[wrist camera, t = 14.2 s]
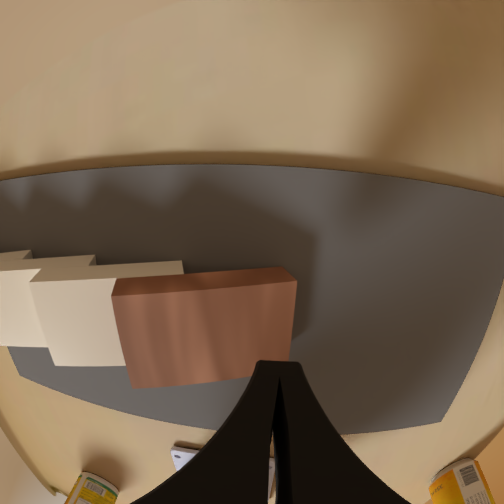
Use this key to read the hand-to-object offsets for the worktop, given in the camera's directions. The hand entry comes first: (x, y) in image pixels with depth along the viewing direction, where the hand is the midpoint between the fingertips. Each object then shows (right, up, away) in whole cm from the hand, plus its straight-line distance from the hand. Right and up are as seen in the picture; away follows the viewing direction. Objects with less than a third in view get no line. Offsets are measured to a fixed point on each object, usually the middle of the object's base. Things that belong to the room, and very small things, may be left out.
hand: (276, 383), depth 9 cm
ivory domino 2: (-4, +2, +4) cm, 6 cm away
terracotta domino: (+1, +1, +4) cm, 4 cm away
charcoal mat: (-4, +1, +6) cm, 7 cm away
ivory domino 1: (-9, +2, +4) cm, 10 cm away
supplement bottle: (-19, -24, +15) cm, 34 cm away
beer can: (+21, -19, +11) cm, 30 cm away
